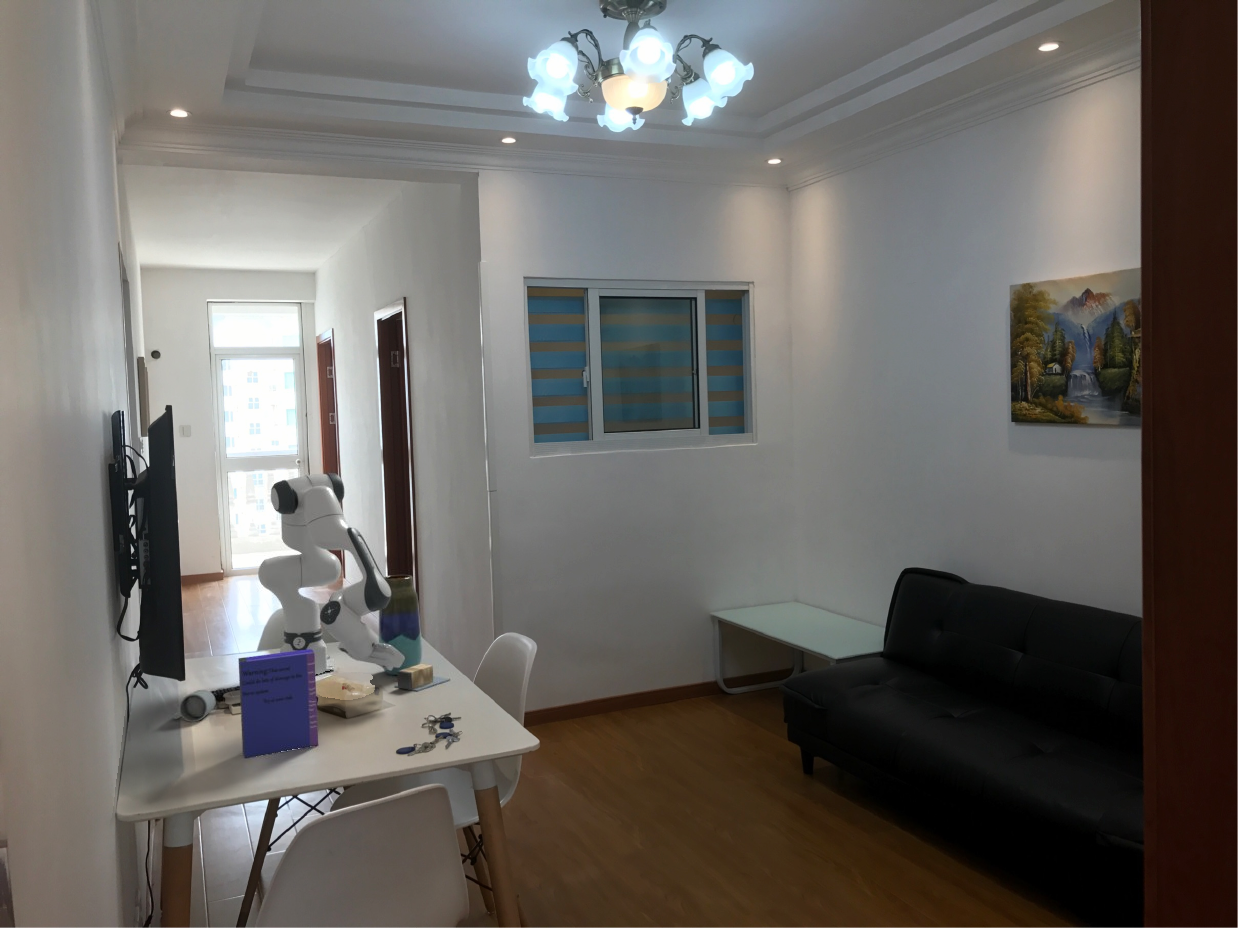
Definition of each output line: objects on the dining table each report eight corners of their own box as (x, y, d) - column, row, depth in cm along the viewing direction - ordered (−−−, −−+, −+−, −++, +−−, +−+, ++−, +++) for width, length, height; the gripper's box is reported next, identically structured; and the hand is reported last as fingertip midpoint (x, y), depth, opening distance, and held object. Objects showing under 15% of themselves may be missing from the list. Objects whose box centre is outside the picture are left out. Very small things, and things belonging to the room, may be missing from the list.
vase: (419, 664, 320) (416, 572, 319) (426, 674, 307) (422, 578, 306) (377, 669, 315) (373, 575, 314) (382, 679, 302) (378, 581, 301)
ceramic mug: (217, 712, 272) (216, 685, 272) (207, 721, 264) (205, 693, 264) (179, 714, 272) (177, 688, 271) (168, 723, 263) (166, 696, 263)
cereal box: (315, 740, 246) (311, 648, 245) (318, 745, 241) (314, 651, 240) (242, 752, 238) (238, 657, 237) (244, 758, 233) (240, 661, 232)
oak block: (408, 673, 289) (432, 665, 297) (397, 671, 291) (421, 663, 300) (409, 689, 289) (433, 681, 297) (397, 687, 292) (422, 679, 300)
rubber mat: (417, 691, 288) (417, 689, 288) (394, 686, 294) (394, 685, 294) (450, 680, 300) (450, 678, 300) (427, 675, 305) (427, 674, 305)
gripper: (392, 636, 273) (419, 662, 281) (345, 629, 284) (372, 654, 293) (381, 655, 269) (408, 681, 278) (333, 647, 281) (361, 672, 289)
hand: (389, 667), depth 286 cm, fingers closed
